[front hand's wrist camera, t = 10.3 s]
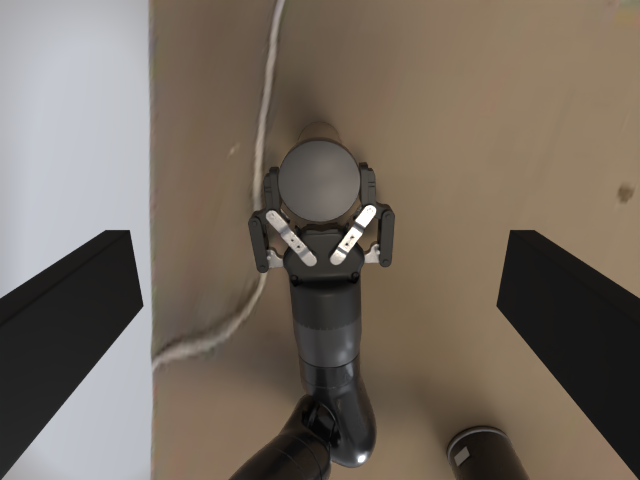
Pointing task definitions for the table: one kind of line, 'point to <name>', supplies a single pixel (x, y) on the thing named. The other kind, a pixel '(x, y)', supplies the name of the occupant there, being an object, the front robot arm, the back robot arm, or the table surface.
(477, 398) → the table surface
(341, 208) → the lid
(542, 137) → the table surface
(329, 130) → the steel thermos bottle
